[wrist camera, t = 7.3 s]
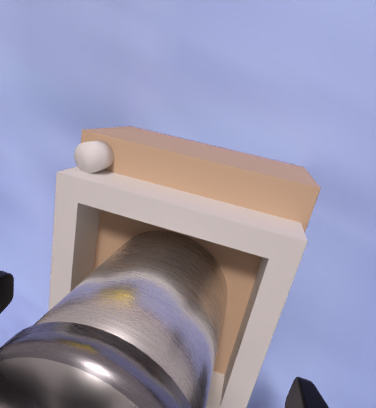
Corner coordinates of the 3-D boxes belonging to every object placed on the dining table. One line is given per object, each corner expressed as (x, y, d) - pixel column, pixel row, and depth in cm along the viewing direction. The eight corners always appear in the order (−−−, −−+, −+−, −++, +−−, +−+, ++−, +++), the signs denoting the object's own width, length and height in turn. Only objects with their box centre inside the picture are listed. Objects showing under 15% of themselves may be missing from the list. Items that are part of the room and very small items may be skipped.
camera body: (243, 348, 16) (233, 460, 11) (107, 301, 17) (40, 379, 12) (303, 167, 13) (331, 201, 7) (130, 126, 14) (53, 131, 9)
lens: (246, 250, 10) (222, 421, 4) (213, 358, 11) (165, 588, 6) (116, 212, 11) (-45, 314, 5) (102, 318, 12) (-34, 485, 7)
